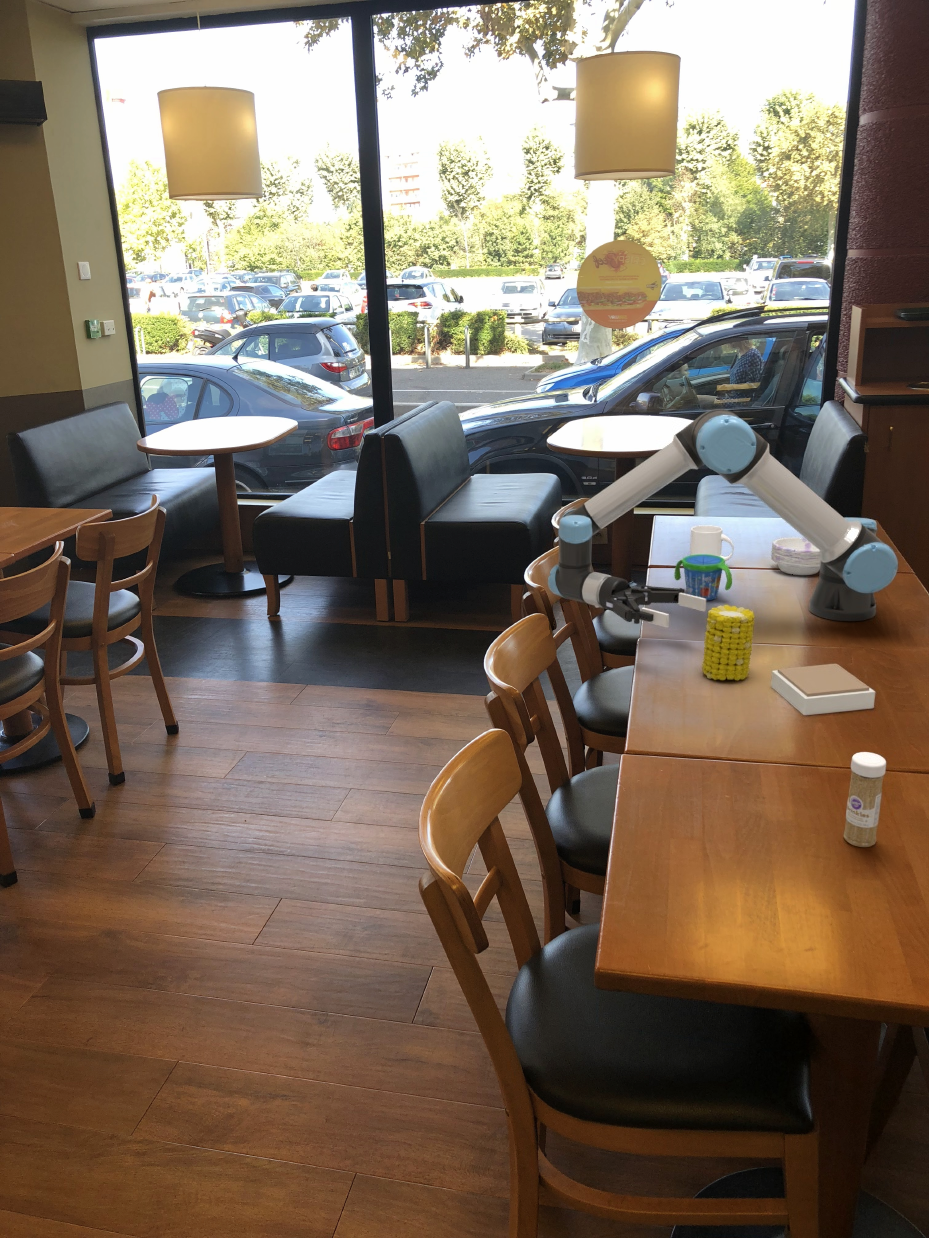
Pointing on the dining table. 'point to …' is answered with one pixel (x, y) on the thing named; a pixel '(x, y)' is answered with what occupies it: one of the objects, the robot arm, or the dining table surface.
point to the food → (728, 643)
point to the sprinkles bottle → (864, 799)
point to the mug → (708, 541)
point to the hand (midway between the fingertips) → (687, 612)
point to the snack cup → (703, 575)
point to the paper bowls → (796, 556)
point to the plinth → (822, 689)
